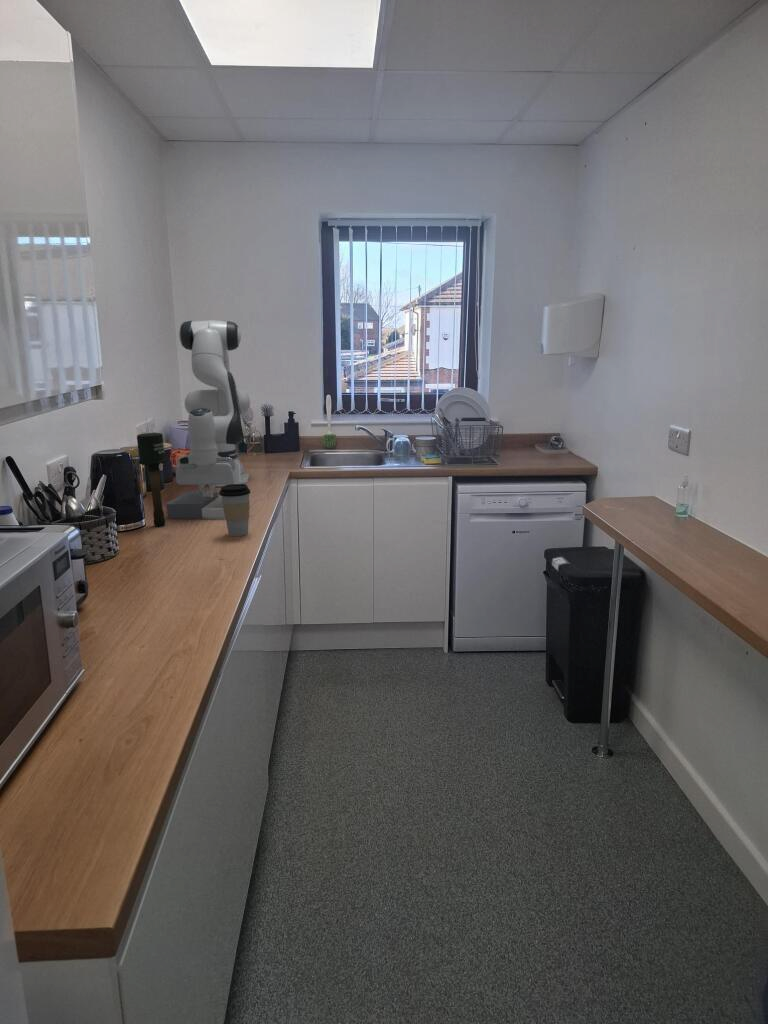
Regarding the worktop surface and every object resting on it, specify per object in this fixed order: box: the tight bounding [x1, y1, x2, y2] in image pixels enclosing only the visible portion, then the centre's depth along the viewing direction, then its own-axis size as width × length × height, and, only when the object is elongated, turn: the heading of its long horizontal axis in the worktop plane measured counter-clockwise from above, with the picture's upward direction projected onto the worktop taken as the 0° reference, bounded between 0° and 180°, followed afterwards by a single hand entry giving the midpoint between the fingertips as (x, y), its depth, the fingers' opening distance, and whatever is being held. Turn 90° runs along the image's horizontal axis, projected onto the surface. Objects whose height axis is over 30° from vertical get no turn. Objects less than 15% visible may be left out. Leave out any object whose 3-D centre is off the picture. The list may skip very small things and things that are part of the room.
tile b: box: [214, 503, 223, 508], centre depth 230 cm, size 6×6×2 cm
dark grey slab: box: [165, 491, 220, 519], centre depth 235 cm, size 18×12×5 cm, turn 175°
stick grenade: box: [136, 432, 168, 528], centre depth 215 cm, size 8×9×30 cm
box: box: [201, 495, 225, 520], centre depth 234 cm, size 20×10×4 cm, turn 175°
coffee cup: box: [218, 483, 251, 537], centre depth 206 cm, size 9×9×15 cm
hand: (208, 497), depth 229 cm, fingers closed
